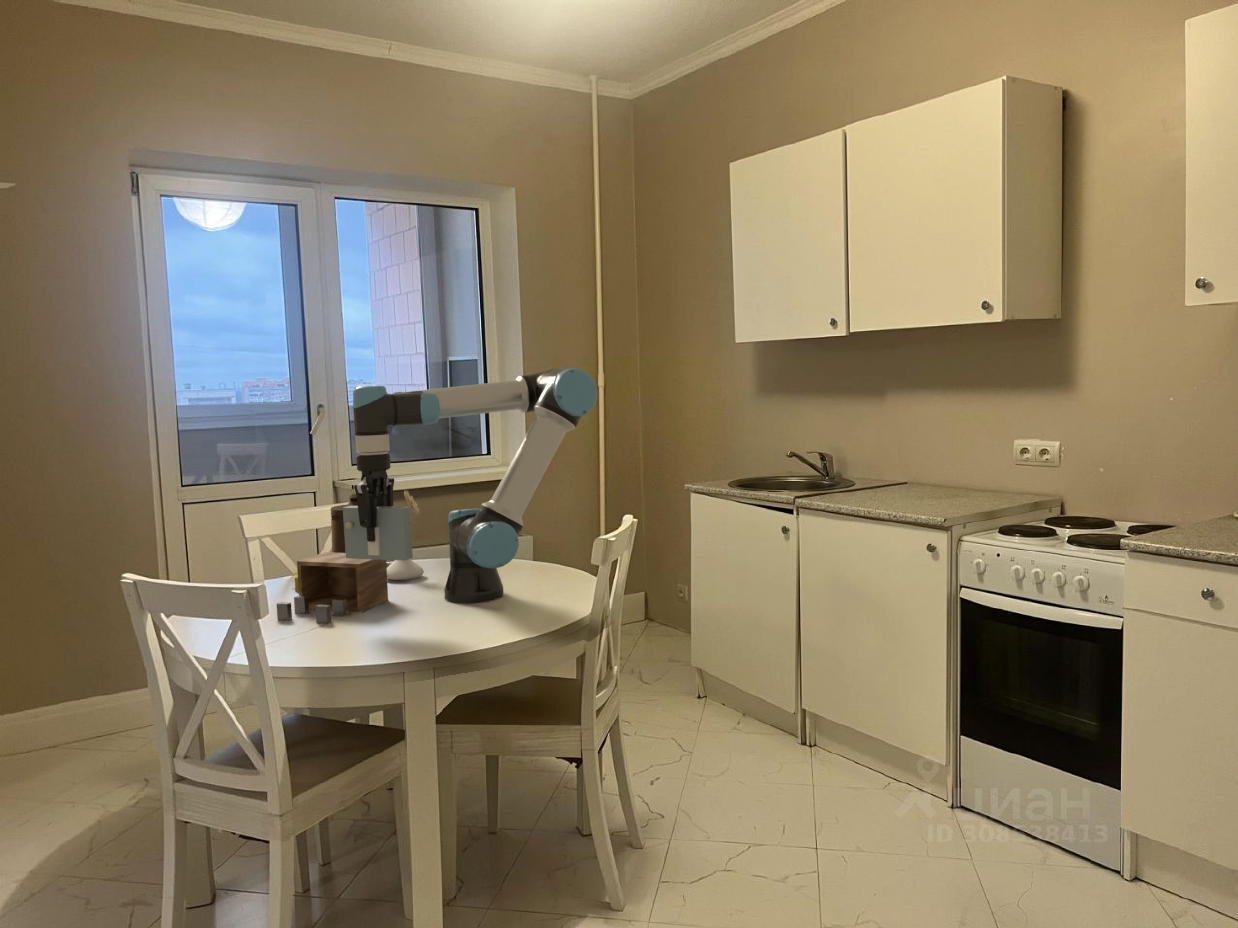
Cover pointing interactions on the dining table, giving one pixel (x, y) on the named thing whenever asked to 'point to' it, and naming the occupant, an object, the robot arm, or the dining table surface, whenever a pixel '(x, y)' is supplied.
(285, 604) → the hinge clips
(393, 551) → the door
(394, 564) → the flower in vase
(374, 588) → the cabinet
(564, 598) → the dining table surface
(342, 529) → the wooden container
